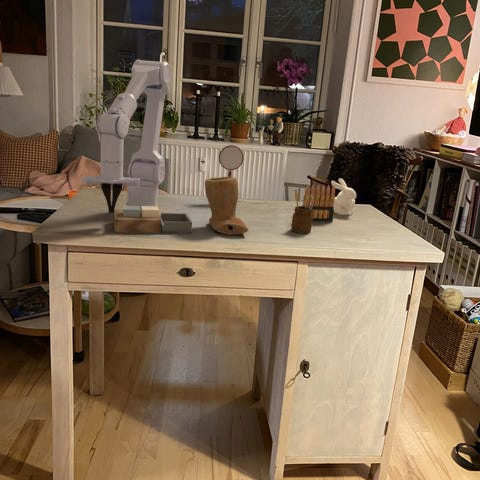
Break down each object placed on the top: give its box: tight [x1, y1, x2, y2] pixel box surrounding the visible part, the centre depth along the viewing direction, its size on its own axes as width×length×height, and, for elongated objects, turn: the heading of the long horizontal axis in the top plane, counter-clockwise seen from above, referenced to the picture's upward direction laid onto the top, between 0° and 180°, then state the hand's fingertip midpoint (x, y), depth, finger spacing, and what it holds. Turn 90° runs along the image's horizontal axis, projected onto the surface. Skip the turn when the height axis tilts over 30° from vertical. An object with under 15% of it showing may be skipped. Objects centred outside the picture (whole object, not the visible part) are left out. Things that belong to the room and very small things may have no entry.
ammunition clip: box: [301, 183, 336, 223], centre depth 161 cm, size 11×2×12 cm, turn 103°
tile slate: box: [122, 205, 140, 217], centre depth 136 cm, size 4×4×2 cm
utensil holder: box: [290, 188, 315, 234], centre depth 148 cm, size 6×6×12 cm
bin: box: [160, 212, 193, 234], centre depth 140 cm, size 8×10×3 cm
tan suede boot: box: [204, 176, 249, 236], centre depth 142 cm, size 15×12×15 cm
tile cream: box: [141, 205, 160, 218], centre depth 138 cm, size 4×4×2 cm
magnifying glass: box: [218, 144, 245, 177], centre depth 176 cm, size 9×2×20 cm, turn 96°
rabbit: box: [330, 178, 357, 216], centre depth 178 cm, size 12×9×12 cm
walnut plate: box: [113, 209, 162, 234], centre depth 138 cm, size 12×10×4 cm
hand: (111, 211), depth 135 cm, fingers closed
